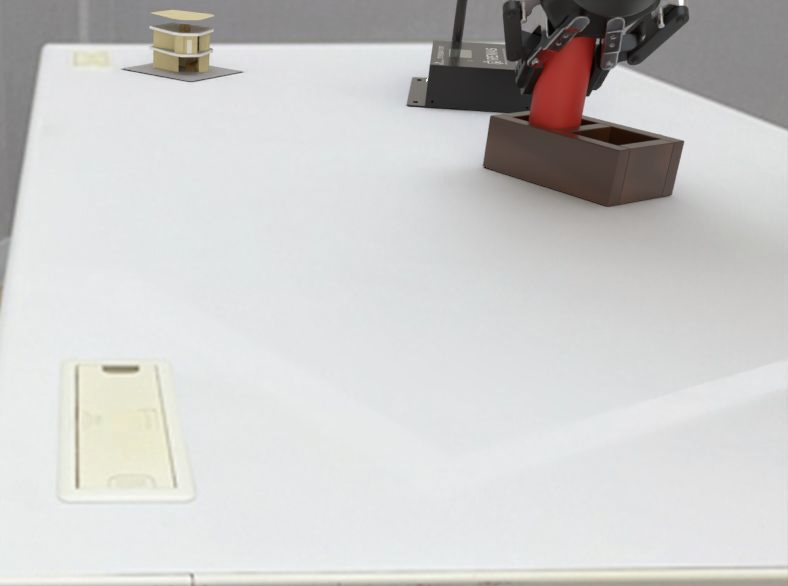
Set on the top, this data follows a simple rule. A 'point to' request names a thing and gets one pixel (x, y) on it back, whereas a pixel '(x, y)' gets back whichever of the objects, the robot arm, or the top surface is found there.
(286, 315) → the top surface
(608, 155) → the brown divided tray
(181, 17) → the stacked layers on plate
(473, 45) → the wireless controller
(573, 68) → the peg
